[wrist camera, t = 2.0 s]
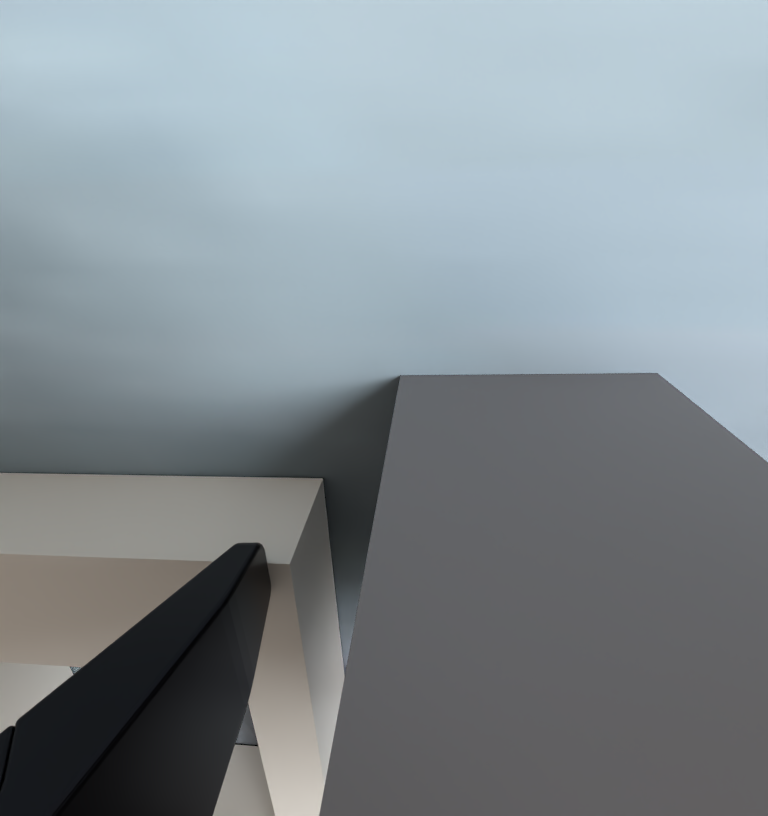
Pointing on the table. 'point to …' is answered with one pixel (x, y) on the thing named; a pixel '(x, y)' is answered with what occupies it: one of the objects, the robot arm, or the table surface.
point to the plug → (558, 607)
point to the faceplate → (160, 578)
